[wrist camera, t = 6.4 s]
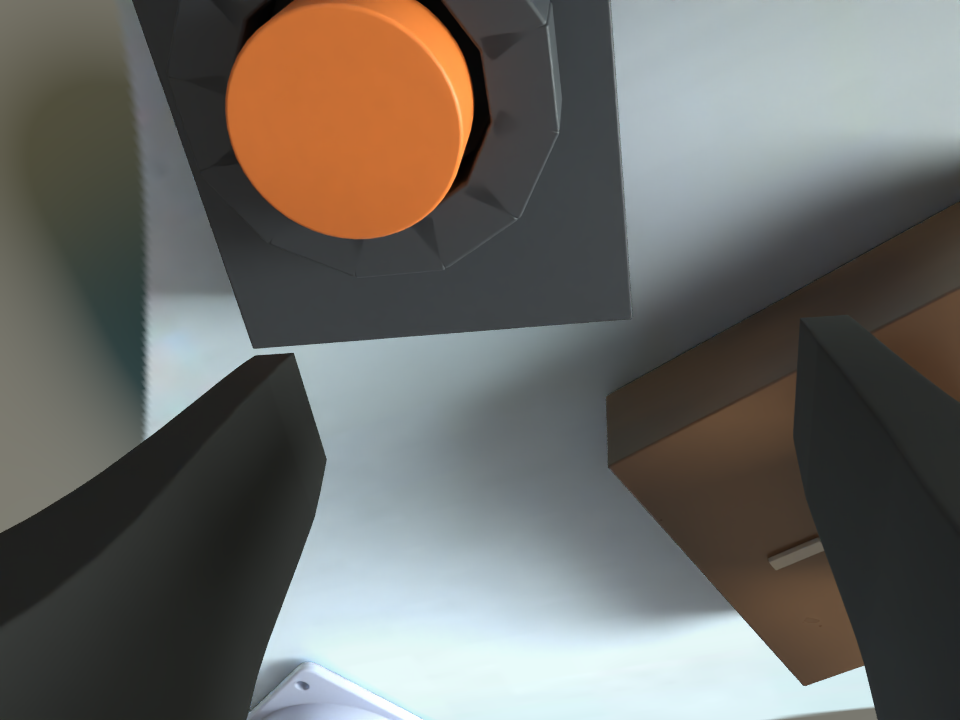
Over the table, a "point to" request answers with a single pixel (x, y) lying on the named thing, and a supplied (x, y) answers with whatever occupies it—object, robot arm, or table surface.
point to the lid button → (351, 114)
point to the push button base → (465, 208)
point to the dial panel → (778, 439)
